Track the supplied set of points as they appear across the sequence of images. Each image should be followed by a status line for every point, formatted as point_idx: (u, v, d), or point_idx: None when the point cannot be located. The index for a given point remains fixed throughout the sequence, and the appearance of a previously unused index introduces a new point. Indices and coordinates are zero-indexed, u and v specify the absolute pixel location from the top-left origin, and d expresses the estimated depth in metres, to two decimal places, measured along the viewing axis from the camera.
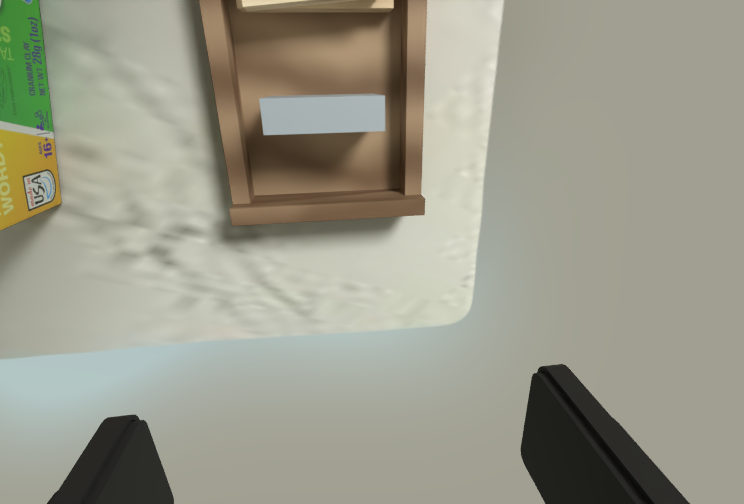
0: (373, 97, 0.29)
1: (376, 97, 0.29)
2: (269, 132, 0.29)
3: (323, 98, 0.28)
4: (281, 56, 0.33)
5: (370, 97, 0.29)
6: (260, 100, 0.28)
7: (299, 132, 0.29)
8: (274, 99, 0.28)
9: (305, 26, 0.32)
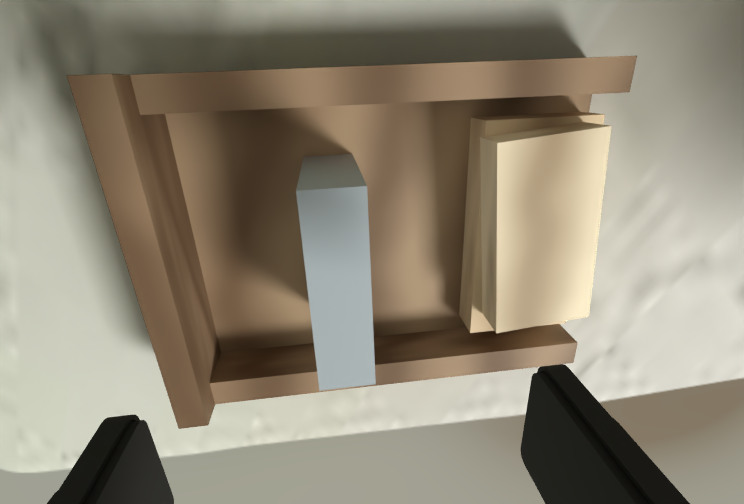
0: (372, 369, 0.17)
1: (372, 373, 0.17)
2: (302, 202, 0.14)
3: (369, 297, 0.16)
4: (410, 174, 0.21)
5: (372, 365, 0.17)
6: (363, 188, 0.14)
7: (306, 258, 0.15)
8: (366, 214, 0.14)
9: (448, 210, 0.22)
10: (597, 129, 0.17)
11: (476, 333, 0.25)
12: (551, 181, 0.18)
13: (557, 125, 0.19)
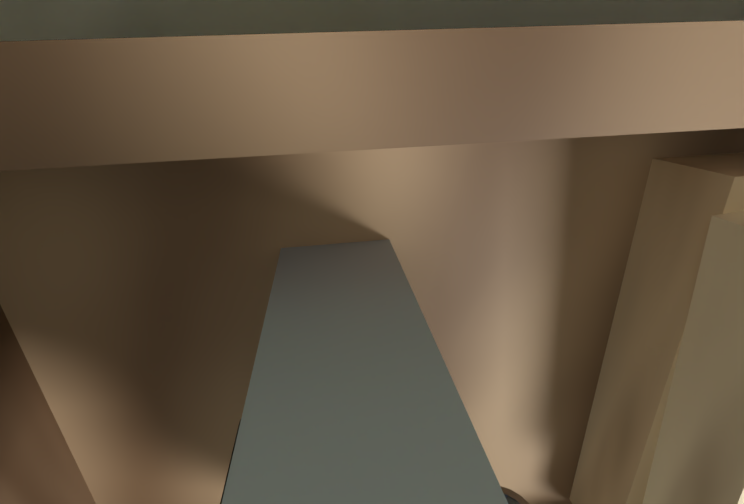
0: None
1: None
2: None
3: None
4: (510, 276, 0.10)
5: None
6: None
7: None
8: None
9: (576, 338, 0.11)
10: None
11: None
12: None
13: None
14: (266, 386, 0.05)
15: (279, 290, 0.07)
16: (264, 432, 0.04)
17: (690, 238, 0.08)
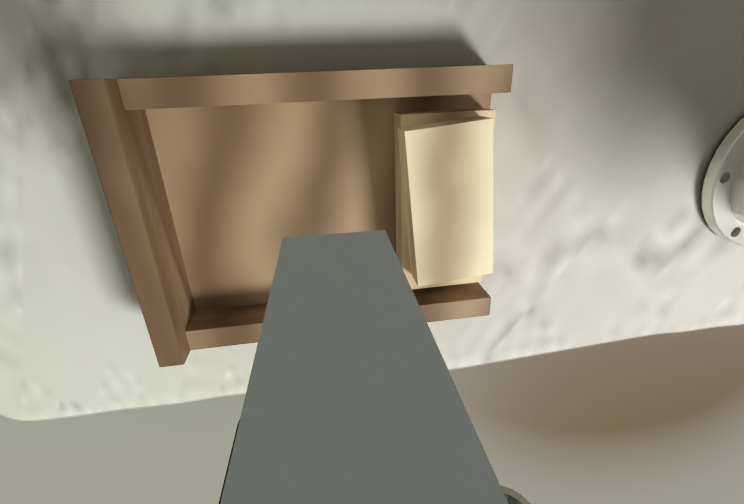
0: None
1: None
2: None
3: None
4: (347, 159, 0.26)
5: None
6: None
7: None
8: None
9: (381, 189, 0.27)
10: (482, 121, 0.22)
11: None
12: (450, 161, 0.23)
13: (458, 118, 0.24)
14: (271, 353, 0.05)
15: (281, 274, 0.08)
16: (270, 389, 0.05)
17: None
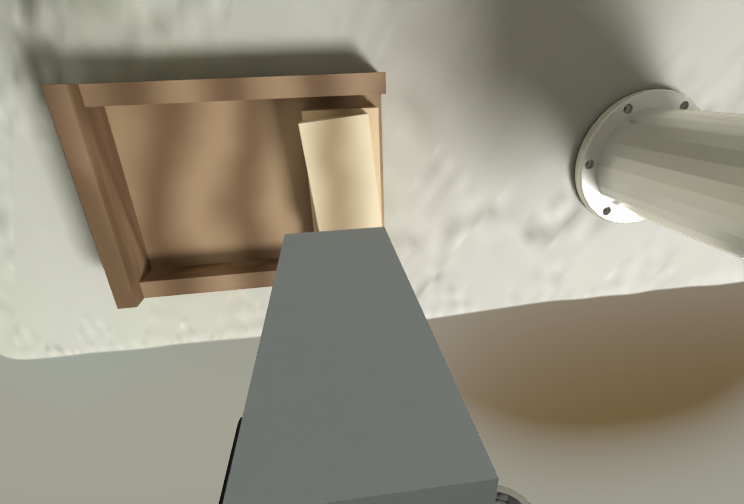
0: None
1: None
2: None
3: None
4: (267, 146, 0.33)
5: None
6: (484, 484, 0.04)
7: None
8: None
9: (296, 171, 0.34)
10: (359, 116, 0.29)
11: None
12: (338, 147, 0.30)
13: (348, 114, 0.31)
14: (275, 342, 0.06)
15: (284, 268, 0.08)
16: (274, 375, 0.05)
17: None
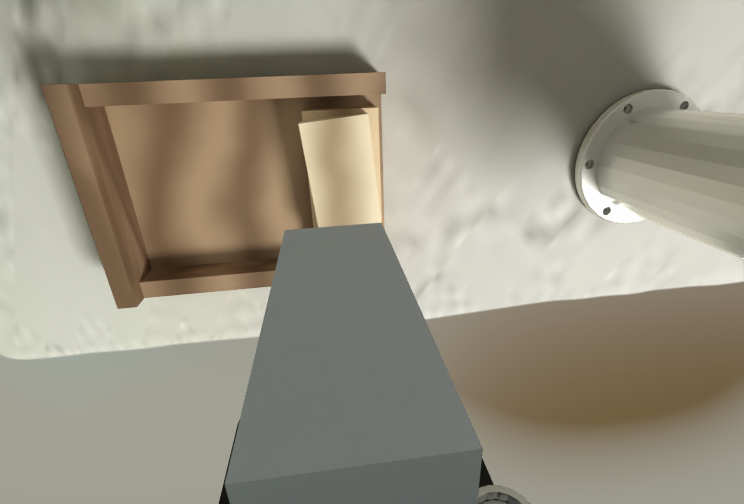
0: None
1: None
2: None
3: None
4: (267, 146, 0.33)
5: None
6: (469, 454, 0.04)
7: None
8: None
9: (296, 171, 0.34)
10: (359, 116, 0.29)
11: None
12: (338, 147, 0.30)
13: (348, 114, 0.31)
14: (275, 330, 0.06)
15: (284, 262, 0.08)
16: (274, 359, 0.05)
17: None
